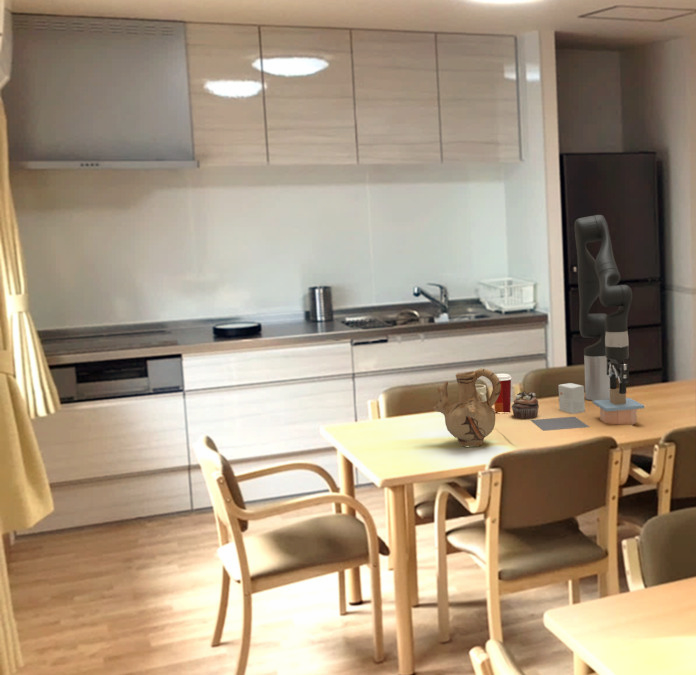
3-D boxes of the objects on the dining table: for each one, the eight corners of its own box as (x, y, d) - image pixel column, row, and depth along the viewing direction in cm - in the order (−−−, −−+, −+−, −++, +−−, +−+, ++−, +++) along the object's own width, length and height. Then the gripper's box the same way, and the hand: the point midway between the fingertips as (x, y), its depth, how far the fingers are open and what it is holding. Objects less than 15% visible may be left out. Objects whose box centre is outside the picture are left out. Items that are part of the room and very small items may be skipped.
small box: (585, 414, 309) (584, 385, 307) (572, 416, 307) (571, 387, 305) (571, 410, 316) (570, 382, 315) (559, 412, 314) (558, 384, 313)
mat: (530, 422, 301) (530, 420, 301) (574, 419, 302) (574, 416, 302) (543, 433, 286) (543, 430, 285) (590, 429, 286) (590, 426, 286)
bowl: (597, 420, 298) (596, 403, 297) (628, 418, 299) (627, 401, 298) (608, 427, 287) (608, 410, 286) (640, 425, 288) (640, 407, 287)
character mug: (493, 423, 304) (492, 387, 303) (475, 425, 302) (474, 389, 301) (479, 417, 315) (478, 382, 313) (462, 419, 313) (460, 385, 311)
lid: (592, 403, 298) (592, 387, 298) (629, 400, 299) (629, 385, 298) (606, 411, 286) (605, 395, 285) (644, 408, 286) (644, 392, 286)
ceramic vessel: (479, 434, 290) (475, 361, 287) (513, 445, 273) (510, 368, 270) (433, 443, 283) (429, 368, 279) (466, 455, 265) (461, 376, 262)
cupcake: (541, 416, 310) (540, 389, 308) (536, 422, 301) (534, 395, 300) (515, 415, 314) (514, 388, 312) (509, 421, 305) (508, 394, 304)
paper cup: (512, 409, 324) (510, 372, 323) (514, 413, 317) (512, 376, 315) (491, 410, 325) (489, 373, 323) (492, 414, 318) (491, 377, 316)
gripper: (598, 342, 296) (599, 388, 298) (613, 348, 282) (615, 396, 284) (619, 340, 297) (620, 386, 299) (636, 346, 283) (637, 394, 285)
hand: (618, 391), depth 292 cm, fingers open, 8 cm apart
